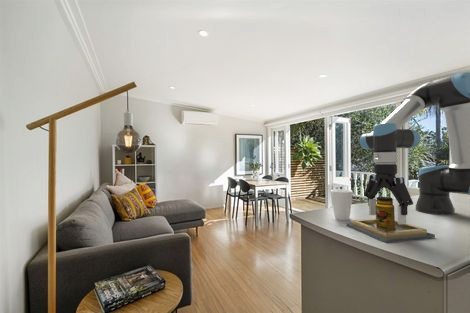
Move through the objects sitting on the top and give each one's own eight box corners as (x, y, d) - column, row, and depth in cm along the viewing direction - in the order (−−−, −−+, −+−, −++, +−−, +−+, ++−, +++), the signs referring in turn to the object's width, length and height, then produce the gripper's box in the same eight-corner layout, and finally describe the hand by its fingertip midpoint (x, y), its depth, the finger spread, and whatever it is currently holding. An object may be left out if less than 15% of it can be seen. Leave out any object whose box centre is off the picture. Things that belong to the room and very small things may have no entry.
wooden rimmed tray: (387, 222, 101) (387, 216, 101) (434, 237, 81) (434, 230, 81) (346, 225, 97) (346, 219, 97) (386, 242, 78) (385, 235, 78)
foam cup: (333, 220, 106) (332, 191, 106) (329, 215, 115) (329, 189, 115) (355, 221, 103) (355, 192, 104) (350, 216, 112) (350, 189, 113)
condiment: (376, 230, 88) (375, 198, 88) (373, 224, 95) (372, 194, 95) (399, 232, 85) (398, 199, 85) (394, 226, 92) (393, 195, 92)
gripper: (354, 163, 101) (355, 212, 101) (406, 164, 76) (408, 229, 76) (369, 162, 102) (370, 211, 102) (425, 164, 78) (426, 227, 78)
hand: (386, 219), depth 89 cm, fingers open, 13 cm apart
